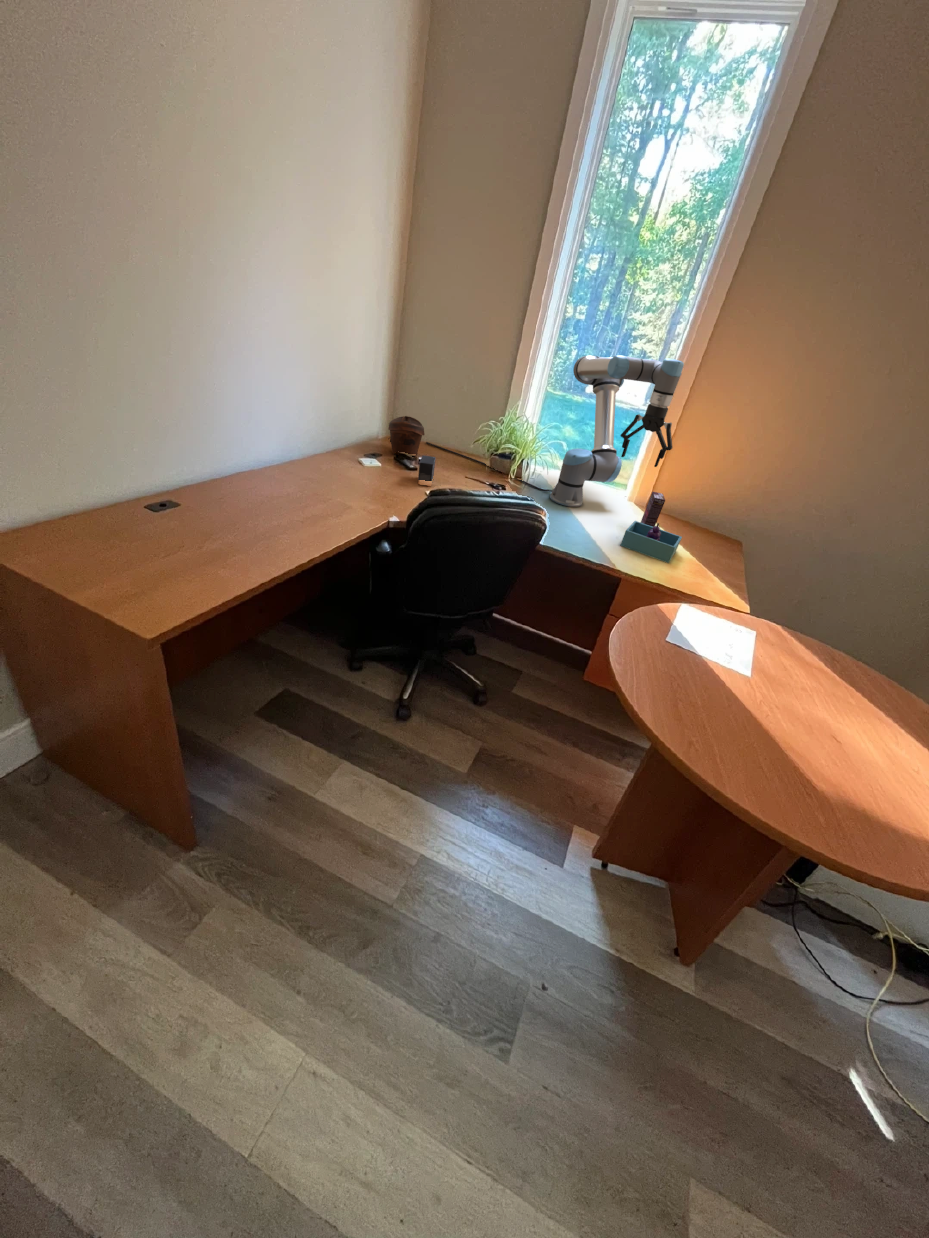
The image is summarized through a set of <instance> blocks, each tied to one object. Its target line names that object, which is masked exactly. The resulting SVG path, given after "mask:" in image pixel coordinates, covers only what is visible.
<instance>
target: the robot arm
mask: <svg viewBox="0 0 929 1238" xmlns="http://www.w3.org/2000/svg"><path fill="white" fill-rule="evenodd" d="M684 366H685V363H684V361H682V360H678V359H675V358H668V357H666V358H664V359H663V361H660V360H658V359H653V358H649V359H647V358H639V357H632V356H626V355H621V354H620V355H617V354H615V355H613V356H612V357H605V356H599V355H598V356H597V355H589V354H588V355H583V356H581V357H579V358H578V359H577V360H576V361H575V363H574V365H573V375H574V378H575V379H576V381H578V382H579V383H581V384H584V385H588V386H592V393H593V395H595V408H594V409H595V411H594V437H593V448H592V449H591V450H589V449H585V448H571V449H569V450H567V451H566V452H565V454H564V457H563V459H562V465H561V468H560V472H559V476H558V479H557V482H556V484H555V486H554V487H553V488H552V489H545V488H541V487H539V486H536V485H534V484H531V483H529V482H527V481H525V480H523V479H521V480H518V481H519V482H521V483H523V484H524V485H527V486H530V487H531V488H534V489H536V490H539V491H541V492H547V493H550V495H549V499H550V500H551V501H552V502H553V503H555V504H558V505H559V506H560V505H561V506H563V507H569V508H578V507H581V506H582V505H583V501H584V492H583V491H584V488H583V487H584V486H585V485H584V484H585V481H586V482H598V483H612V482H613V481H615V480H616V479H617V478H618V477H619V475H620V472H621V470H622V466H623V465H622V464H623V463H622V458H624V457H626V453H627V450H628V448H629V445H630V442H631V439H630V438H631V437H633V436H634V435H636V434H638V433H639V432H641V431H642V430H643V429H644V430H645V431H648V432H649V431H650V432H651V433H656V436H657V438H658V442H659V443H660V446H661V448H660V450H659V452H658V454H657V458H656V460H655V463H654V468H658V466H659V463H660V460H663V459H664V457H665V454H666V452H667V451H671V450H672V449H673V437H672V425H673V423H672V422H671V421H670V422H667V421H666V422H665V420H666V417H667V414H668V411H669V407H670V405H671V403H672V401H673V397H674V394H675V391H676V389H677V387H678V384H679V381H680V378H681V376H682V374H683V369H684ZM625 380H628V381H636V382H641V383H642V382H643V383H650V384H653V385H654V386H653V390H652V392H651V395H650V398H649V404H648V405H647V407H646V410H645V413H644V415H641V414H640V413H638V414H635V416H634V419H633V420H632V422H631V423H630V424H628V426H627V427H626V428H625V429H624V430H623V431H622V432H621V434H620V437H621V438H622V439H623V441H622V445H621V448H622V449H623V450H622V452H621V455H620V456H618V454H617V451H618V450H617V449H616V448H615V447H614V442H615V418H616V417H615V416H616V396H617V395H616V394H617V393H618V392H619V390H620V388H621V387H622V386H623V385H624V383H625ZM640 421H641V422H642V425H640V426H639V427H637V428H636V429H634V430H633V431H632V432H630V431H631V429H633V427H634V426H635V425H636V424H637V423H638V422H640ZM663 426H664V429H665V435H666V440H665V438H664V435H663V432H662V427H663ZM629 432H630V433H629ZM628 433H629V434H628ZM425 444H427V445H430V446H432V447H434V448H438V449H440V450H443V451H446V452H448V453H450V454H454V455H457V456H460V457H461V458H465V459H468V460H470V461H473V462H476V463H479V464H481V465H484V466H486V464H487V463H486V462H482V461H481V460H478V459H476V458H473V457H470V456H467V455H465V454H461V453H459V452H457V451H454V450H451V449H448V448H445V447H442V446H439V445H436V444H434V443H431V442H428V441H426V442H425ZM485 463H486V464H485ZM522 480H523V481H522Z"/></svg>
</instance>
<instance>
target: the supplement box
mask: <svg viewBox="0 0 929 1238" xmlns="http://www.w3.org/2000/svg"><path fill="white" fill-rule="evenodd" d="M665 503H666V498H665V496H664V493H661V492H657V491H652V492H651V494H650V497H649V500H648V502H647V504H646V507H645V509H644V512H643V515H642V518H641V520H640V523H643V524H646V525H649V526H652V527H654V526H657V523H658V520H659V517H660V515H661V512H662V510H663V507H664V506H665Z"/></svg>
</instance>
